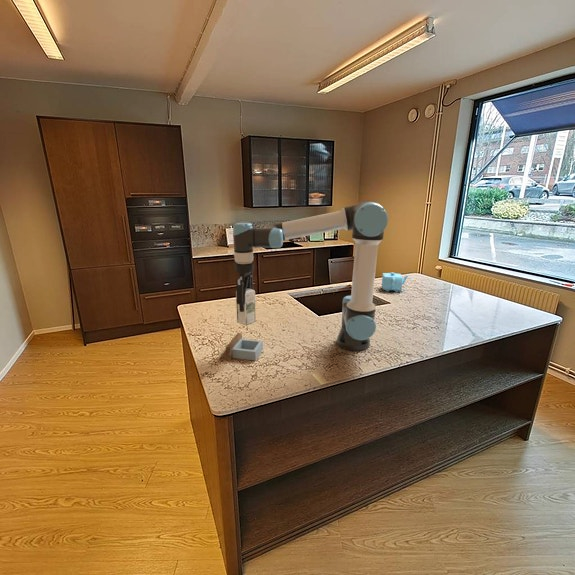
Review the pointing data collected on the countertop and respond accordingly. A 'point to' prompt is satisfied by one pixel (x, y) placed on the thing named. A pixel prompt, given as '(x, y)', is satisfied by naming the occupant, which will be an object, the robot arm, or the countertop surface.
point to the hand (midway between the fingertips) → (246, 314)
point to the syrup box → (248, 308)
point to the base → (231, 347)
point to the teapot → (393, 281)
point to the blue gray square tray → (247, 349)
